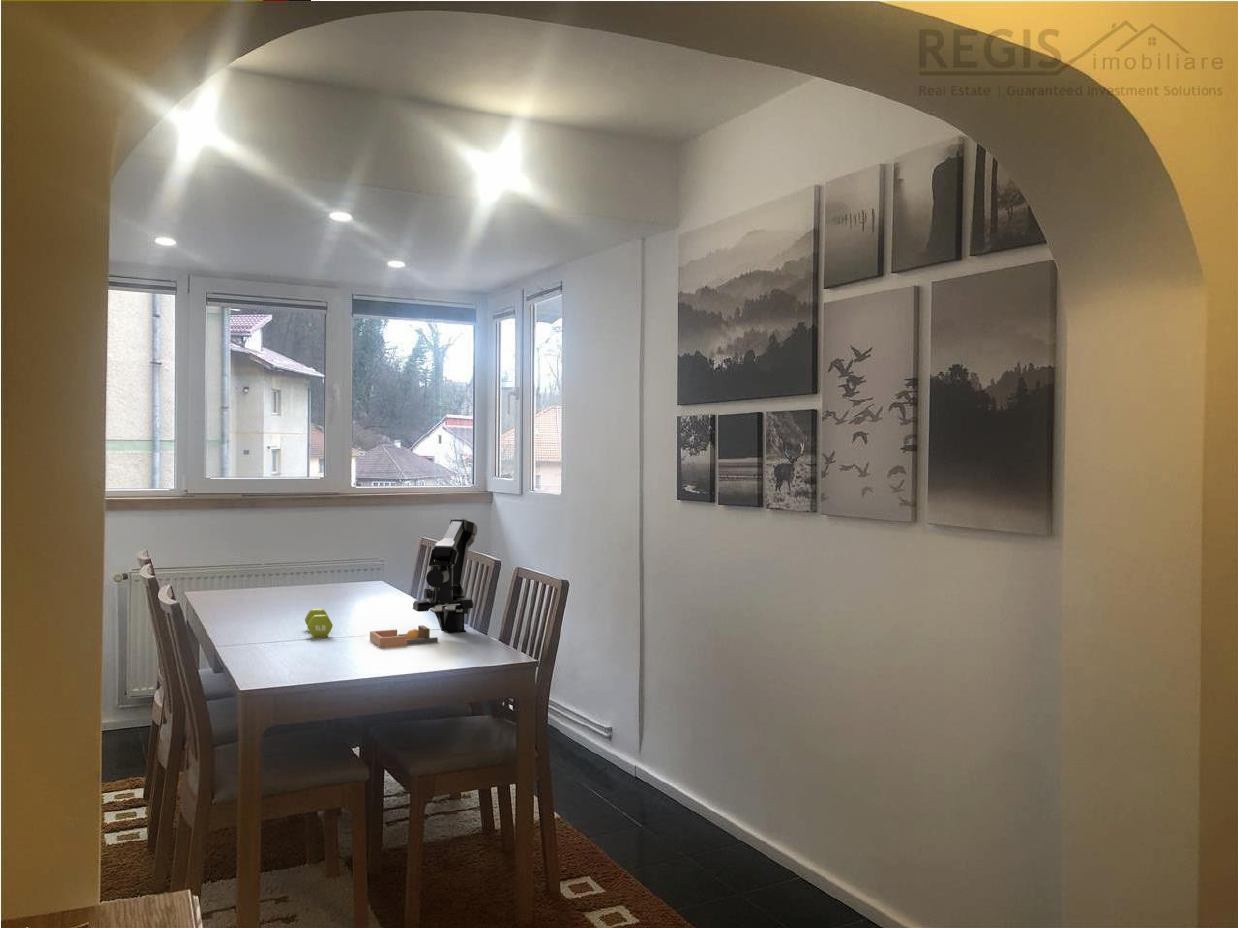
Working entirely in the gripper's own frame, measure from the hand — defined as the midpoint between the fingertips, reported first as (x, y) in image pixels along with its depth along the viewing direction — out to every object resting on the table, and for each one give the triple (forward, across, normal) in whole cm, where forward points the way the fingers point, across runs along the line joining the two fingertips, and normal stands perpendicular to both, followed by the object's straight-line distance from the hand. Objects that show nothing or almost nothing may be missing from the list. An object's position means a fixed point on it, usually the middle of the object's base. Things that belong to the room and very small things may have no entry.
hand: (443, 630), depth 306 cm
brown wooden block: (+2, +6, 0) cm, 7 cm away
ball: (0, +10, 0) cm, 10 cm away
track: (+2, +8, 0) cm, 9 cm away
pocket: (+2, +17, 0) cm, 18 cm away
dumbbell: (+3, +34, -25) cm, 43 cm away
